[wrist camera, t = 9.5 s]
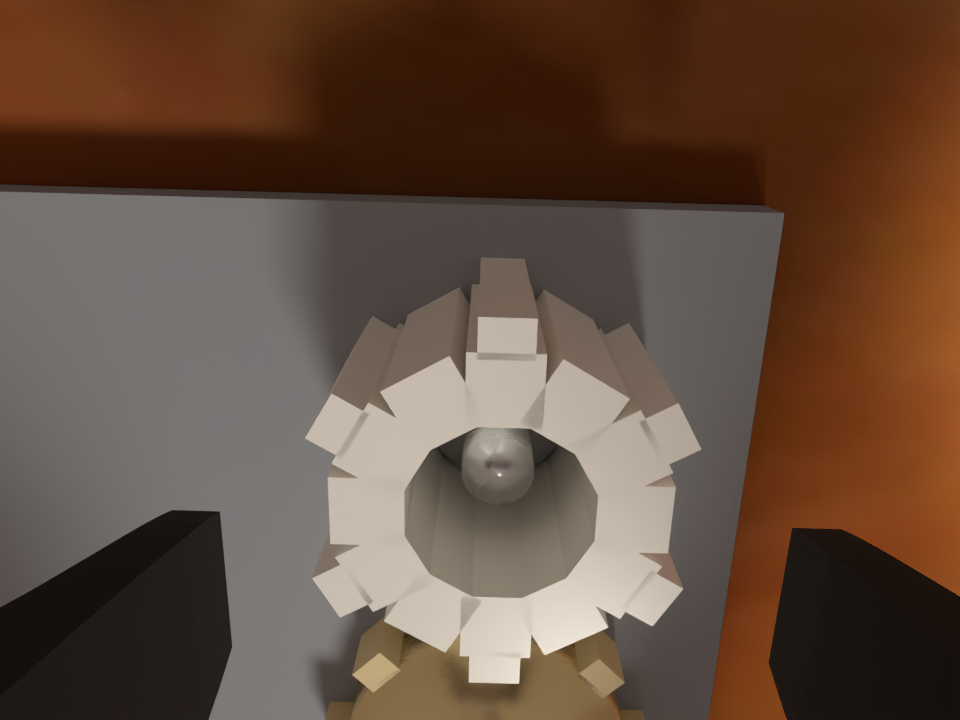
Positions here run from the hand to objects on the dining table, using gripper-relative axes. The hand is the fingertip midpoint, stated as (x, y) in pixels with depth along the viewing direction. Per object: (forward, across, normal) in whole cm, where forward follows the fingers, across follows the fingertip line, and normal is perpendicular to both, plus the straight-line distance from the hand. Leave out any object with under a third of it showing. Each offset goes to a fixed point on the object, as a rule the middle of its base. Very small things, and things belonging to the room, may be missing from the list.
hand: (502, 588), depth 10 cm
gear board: (+7, +3, +3) cm, 8 cm away
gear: (+6, 0, 0) cm, 6 cm away
